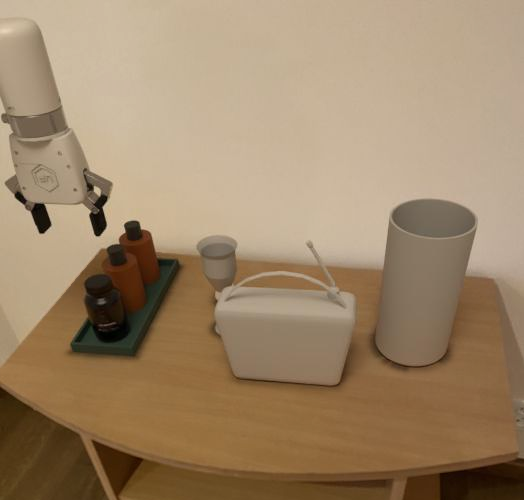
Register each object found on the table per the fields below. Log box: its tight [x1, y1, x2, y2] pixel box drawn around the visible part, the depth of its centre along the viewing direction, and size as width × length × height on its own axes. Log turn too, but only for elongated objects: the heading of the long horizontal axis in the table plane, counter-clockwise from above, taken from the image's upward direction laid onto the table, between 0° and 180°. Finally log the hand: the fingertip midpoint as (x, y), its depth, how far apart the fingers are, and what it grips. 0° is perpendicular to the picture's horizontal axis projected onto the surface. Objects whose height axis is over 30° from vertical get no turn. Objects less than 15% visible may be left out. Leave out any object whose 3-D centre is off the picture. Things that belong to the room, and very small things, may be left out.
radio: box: [213, 239, 358, 387], centre depth 81 cm, size 22×8×25 cm, turn 80°
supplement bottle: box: [83, 273, 130, 343], centre depth 94 cm, size 7×7×12 cm
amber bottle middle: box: [100, 243, 147, 313], centre depth 101 cm, size 7×7×13 cm
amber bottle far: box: [118, 219, 161, 286], centre depth 108 cm, size 7×7×13 cm
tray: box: [69, 257, 181, 357], centre depth 105 cm, size 30×12×2 cm, turn 171°
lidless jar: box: [214, 283, 235, 301], centre depth 105 cm, size 5×3×5 cm
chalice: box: [195, 234, 238, 335], centre depth 92 cm, size 7×7×18 cm
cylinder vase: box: [374, 198, 479, 367], centre depth 83 cm, size 12×12×25 cm
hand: (73, 231), depth 83 cm, fingers open, 9 cm apart
